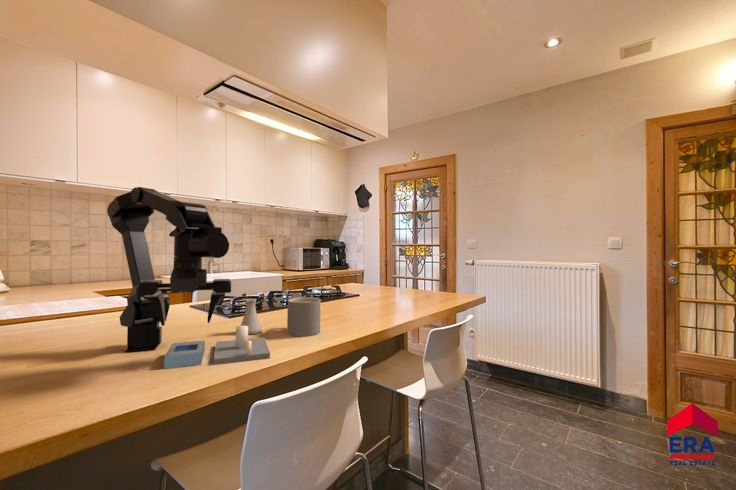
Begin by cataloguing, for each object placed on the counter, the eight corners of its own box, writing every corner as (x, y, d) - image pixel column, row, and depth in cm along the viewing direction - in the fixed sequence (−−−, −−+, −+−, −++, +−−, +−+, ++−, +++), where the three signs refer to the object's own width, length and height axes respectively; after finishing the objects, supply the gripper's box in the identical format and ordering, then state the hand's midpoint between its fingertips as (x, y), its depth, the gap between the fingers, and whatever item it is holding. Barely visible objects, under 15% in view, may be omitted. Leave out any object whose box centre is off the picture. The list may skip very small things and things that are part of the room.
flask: (257, 335, 95) (258, 301, 95) (233, 335, 95) (234, 301, 95) (266, 329, 102) (266, 298, 102) (243, 329, 103) (244, 297, 103)
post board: (213, 364, 71) (214, 336, 71) (216, 346, 84) (216, 322, 84) (269, 358, 76) (270, 331, 76) (264, 341, 89) (264, 319, 89)
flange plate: (201, 364, 71) (201, 352, 71) (164, 368, 69) (164, 356, 69) (204, 350, 81) (204, 340, 81) (172, 354, 78) (172, 343, 78)
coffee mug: (325, 334, 98) (325, 301, 98) (293, 338, 93) (294, 303, 93) (309, 324, 109) (309, 295, 109) (279, 328, 104) (280, 297, 104)
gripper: (129, 257, 64) (127, 336, 64) (231, 258, 71) (230, 329, 71) (143, 255, 74) (141, 324, 74) (231, 256, 81) (230, 318, 81)
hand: (186, 324), depth 75 cm, fingers open, 9 cm apart
